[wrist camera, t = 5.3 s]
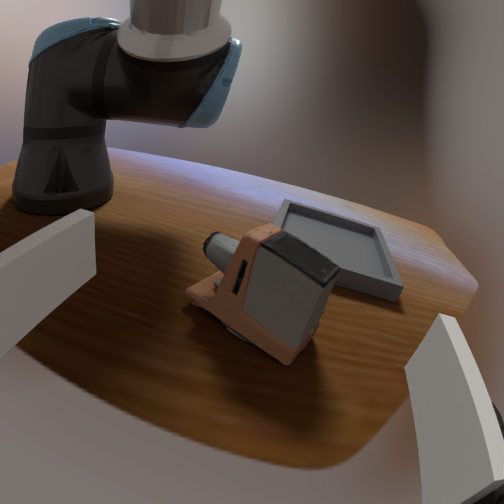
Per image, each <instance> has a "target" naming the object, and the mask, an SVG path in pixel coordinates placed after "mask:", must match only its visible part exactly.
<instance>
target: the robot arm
mask: <svg viewBox="0 0 504 504" xmlns="http://www.w3.org/2000/svg"><path fill="white" fill-rule="evenodd" d="M221 2H222V0H130V17H129V18H128V19H126V20H125V21H124V22H123V24H122V23H121V22H120V21H118V20H116V19H112V18H104V17H99V18H79V19H73V20H68V21H65V22H61V23H58V24H55V25H53V26H51V27H49V28H47V29H45V30H44V31H43V32H42V33H41V34H40V35H39V37H38V38H37V39H36V41H35V45H34V49H33V53H32V57H31V59H30V61H29V73H28V80H27V89H26V99H25V112H24V128H23V129H24V130H23V144H22V148H21V152H20V156H19V159H18V163H17V167H16V172H15V177H14V180H13V183H12V196H13V203H14V205H15V206H16V207H17V208H18V209H20V210H22V211H25V212H29V213H34V214H46V215H52V214H66V213H71V214H69V215H67V216H65V217H63V218H61V219H59V220H57V221H55V222H53V223H51V224H50V225H48V226H46V227H44V228H42V229H40V230H39V231H37V232H35V233H33V234H31V235H30V236H28V237H26V238H24V239H23V240H21V241H19V242H17V243H16V244H14V245H12V246H11V247H9V248H7V249H6V250H4V251H2V252H1V253H0V359H1V358H2V357H3V356H4V355H5V354H6V353H7V352H8V351H9V350H10V349H12V347H14V346H15V345H16V344H17V343H18V342H19V341H20V340H21V339H22V338H23V337H24V336H25V335H26V334H27V333H29V332H30V331H31V330H32V329H33V328H34V327H35V326H36V325H37V324H38V323H39V322H41V321H42V320H43V319H44V318H45V317H46V316H47V315H48V314H50V313H51V312H52V311H53V310H54V309H55V308H56V307H58V306H59V305H60V304H61V303H62V302H63V301H64V300H66V299H67V298H68V297H69V296H70V295H72V294H73V293H74V292H75V291H76V290H77V289H79V288H80V287H81V286H82V285H83V284H85V283H86V282H87V281H88V280H89V279H91V278H92V277H93V276H94V275H96V274H97V273H96V256H95V213H93V212H90V211H87V209H90V208H93V207H96V206H98V205H101V204H103V203H104V202H106V201H107V200H109V199H110V198H111V196H112V195H113V184H114V177H113V173H112V171H111V168H110V162H109V157H108V152H107V148H106V143H105V127H106V120H107V119H108V120H122V121H133V122H142V123H150V124H159V125H168V126H174V127H178V128H184V127H192V128H208V127H210V126H212V125H213V124H214V123H215V122H216V121H217V119H218V118H219V116H220V114H221V112H222V109H223V106H224V104H225V101H226V99H227V96H228V93H229V90H230V85H231V83H232V80H233V77H234V75H235V72H236V69H237V65H238V62H239V58H240V55H241V49H242V44H241V42H240V41H239V40H236V39H235V38H233V37H230V36H231V25H230V23H229V22H228V20H227V18H226V17H225V16H223V15H222V14H221V13H220V7H221ZM405 372H406V377H407V382H408V387H409V392H410V398H411V404H412V409H413V416H414V422H415V428H416V435H417V444H418V452H419V460H420V471H421V481H422V498H423V504H504V423H503V420H502V417H501V414H500V413H499V411H498V410H497V408H496V407H495V405H494V404H493V402H491V400H490V397H489V394H488V392H487V389H486V387H485V384H484V382H483V379H482V376H481V374H480V372H479V369H478V367H477V364H476V363H475V360H474V358H473V355H472V353H471V351H470V349H469V346H468V344H467V342H466V340H465V338H464V335H463V333H462V331H461V329H460V327H459V325H458V323H457V321H456V319H455V318H454V317H451V316H447V315H444V314H440V313H439V314H438V316H437V318H436V319H435V321H434V323H433V324H432V326H431V328H430V329H429V331H428V333H427V334H426V336H425V337H424V339H423V341H422V342H421V344H420V345H419V347H418V348H417V350H416V351H415V353H414V354H413V356H412V357H411V359H410V360H409V362H408V363H407V365H406V366H405Z"/></svg>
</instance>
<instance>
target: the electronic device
mask: <svg viewBox="0 0 504 504" xmlns="http://www.w3.org/2000/svg"><path fill="white" fill-rule="evenodd" d="M203 251H204V254H205V255H206V257H207V258H208V259H209V260H210V261H211V262H212V263H213V264H214V265H215V266H216V267H217V268H218V269H219V270H220V271H218V272H217V273H215V274H213V275H211V276H209V277H207V278H205V279H204V280H202V281H200V282H198V283H197V284H194V285H192V286H191V287H189V288H187V289H186V290H185V294H186V295H188V296H189V297H191V298H192V300H191V302H192V304H193V305H194V306H195V307H201V308H204V309H206V310H207V311H209V312H210V313H212V314H213V315H214V316H216V317H217V318H218V319H220V320H219V321H221V322H222V324H223V325H225V326H227V330H229V331H230V332H231V333H233V334H235V335H237V336H238V337H239V338H241V339H243V340H244V341H246V342H249V343H253V344H255V345H256V346H257V347H259V348H261V349H262V350H264V351H265V352H266V353H268V354H269V355H270V356H272V357H273V358H275V359H278V360H279V361H280V362H281V363H282V364H283V365H290V364H291V363H292V362H293V361H294V359H295V358H296V357H297V355H298V354H299V353H300V352H301V351H302V350H303V349H304V348H305V346H306V345H307V344H308V342H309V341H310V340H311V339H312V337H313V336H314V334H315V332H316V330H317V328H318V326H319V320H320V318H321V315H322V314H324V308H325V306H326V303H327V301H328V298H329V296H330V293H331V290H332V288H333V285H334V283H335V280H337V278H338V276H339V274H340V267H339V266H338V265H337V264H335V263H333V262H332V261H331V260H330V259H329V258H328V257H327V256H324V255H323V254H321V253H320V252H318V251H317V250H316V249H315V248H313V247H310V246H309V245H308V244H307V243H306V242H303V241H302V240H301V239H299V238H297V237H296V236H293V235H292V234H290V233H288V232H286V231H283V230H282V229H280V228H279V227H277V226H275V225H274V224H273V223H268V224H265V225H263V226H259V227H258V228H255V229H254V230H252V231H250V232H248V233H247V234H245V235H244V236H243V237H242V239H241V241H237V240H235V239H232V238H230V237H227V236H225V235H223V234H221V233H220V232H214V233H212V234H211V235H210V236H209V237H208V238H207V239H206V241H205V242H204V247H203Z"/></svg>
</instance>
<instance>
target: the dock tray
mask: <svg viewBox="0 0 504 504" xmlns="http://www.w3.org/2000/svg"><path fill="white" fill-rule="evenodd" d="M273 224H274V225H275V226H277V227H279V228H280V229H282V230H283V231H286V232H288V233H290V234H292V235H293V236H296V237H297V238H299V239H301V240H302V241H303V242H306V243H307V244H308V245H309V246H310V247H313V248H315V249H316V250H317V251H318V252H320V253H321V254H323V255H324V256H327V257H328V258H329V259H330V260H331V261H332V262H333V263H335V264H337V265H338V266H339V267H340V274H339V276H338V278H337V280H335V283H334V285H337V286H340V287H344V288H347V289H351V290H354V291H358V292H361V293H365V294H368V295H372V296H375V297H379V298H382V299H386V300H389V301H393V302H396V301H397V299H398V297H399V295H400V293H401V291H402V289H403V287H404V286H403V283H402V281H401V278H400V276H399V273H398V271H397V268H396V266H395V263H394V261H393V258H392V256H391V253H390V251H389V249H388V246H387V244H386V242H385V239H384V237H383V235H382V233H381V230H380V228H378V227H375V226H372V225H369V224H366V223H363V222H360V221H356V220H353V219H350V218H347V217H344V216H341V215H337V214H334V213H331V212H327V211H324V210H321V209H317V208H314V207H311V206H307V205H304V204H300V203H297V202H293V201H290V200H286V199H284V200H283V203H282V205H281V207H280V209H279V211H278V213H277V216H276V218H275V220H274V222H273Z"/></svg>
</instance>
